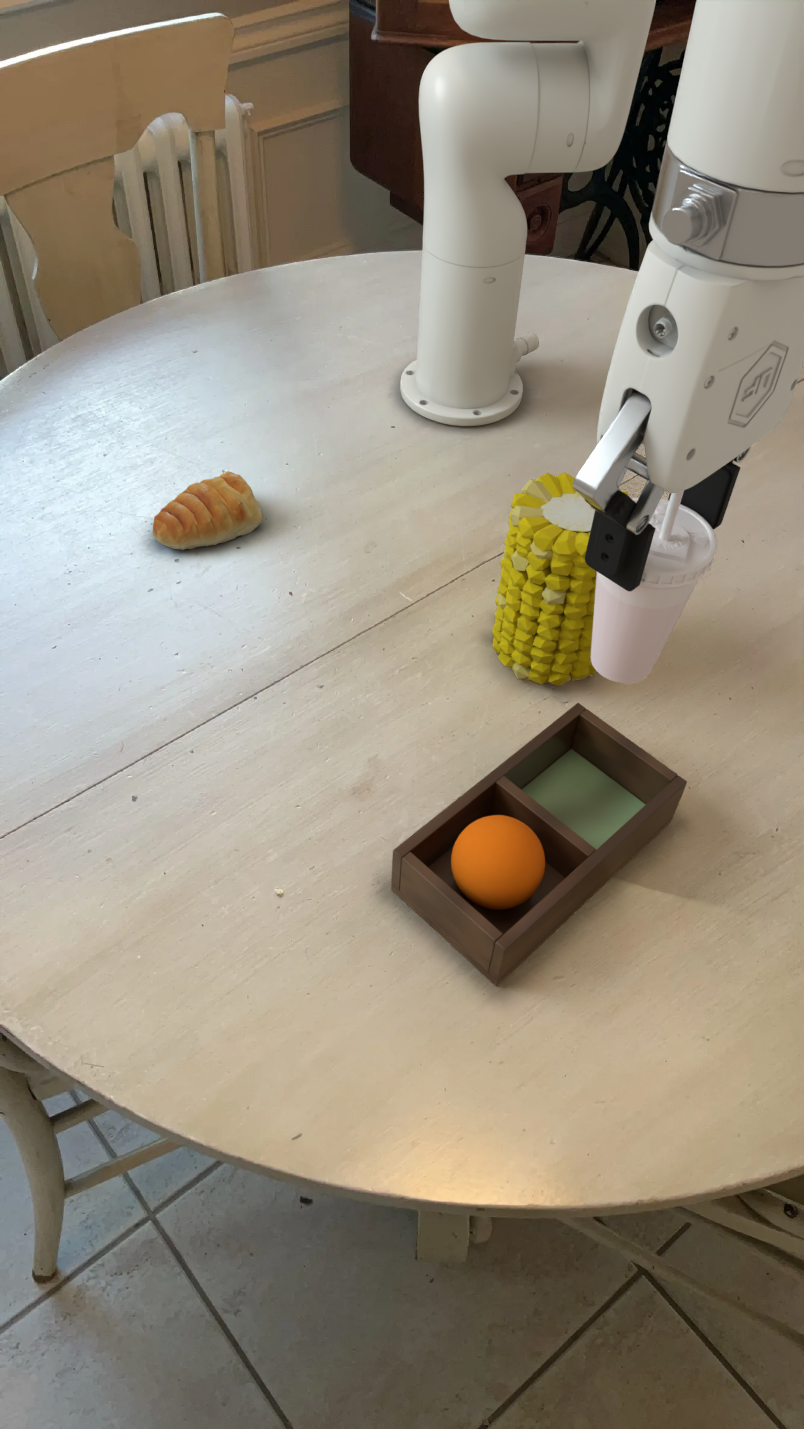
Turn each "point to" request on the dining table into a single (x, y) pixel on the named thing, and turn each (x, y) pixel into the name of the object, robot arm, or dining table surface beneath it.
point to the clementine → (498, 862)
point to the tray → (542, 836)
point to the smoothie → (651, 594)
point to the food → (546, 584)
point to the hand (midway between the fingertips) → (653, 542)
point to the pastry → (208, 513)
